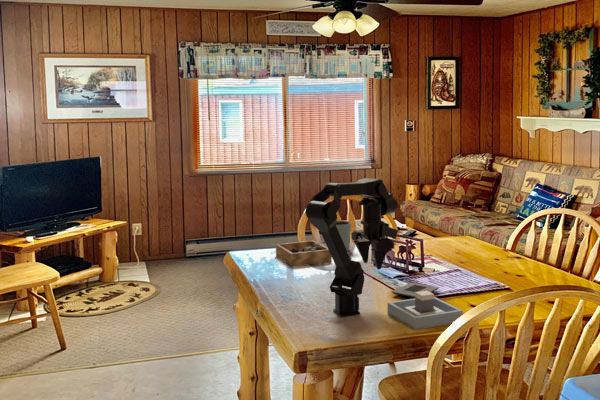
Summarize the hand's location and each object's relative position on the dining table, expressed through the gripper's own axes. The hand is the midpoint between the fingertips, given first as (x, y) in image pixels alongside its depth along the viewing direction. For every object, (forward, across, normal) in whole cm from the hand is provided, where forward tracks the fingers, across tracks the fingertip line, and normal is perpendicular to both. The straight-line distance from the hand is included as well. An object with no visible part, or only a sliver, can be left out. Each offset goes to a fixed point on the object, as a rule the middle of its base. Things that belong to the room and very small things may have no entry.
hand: (372, 266), depth 216 cm
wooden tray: (+12, +64, -1) cm, 65 cm away
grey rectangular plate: (+13, +2, -17) cm, 21 cm away
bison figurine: (+12, +61, -2) cm, 62 cm away
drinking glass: (+12, +72, -21) cm, 76 cm away
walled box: (+12, -20, -7) cm, 24 cm away
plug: (+11, -20, -7) cm, 24 cm away
